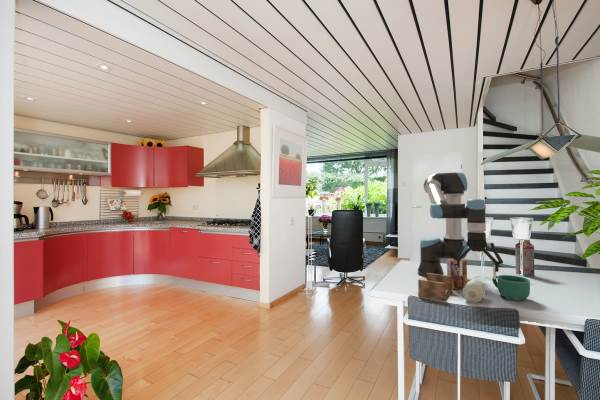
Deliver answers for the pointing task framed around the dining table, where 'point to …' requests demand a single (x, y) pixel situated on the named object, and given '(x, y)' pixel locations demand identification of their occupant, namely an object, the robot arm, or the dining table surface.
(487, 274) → the dining table surface
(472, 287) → the roll
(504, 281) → the mug
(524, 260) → the juice carton
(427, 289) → the cradle
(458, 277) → the candy box
